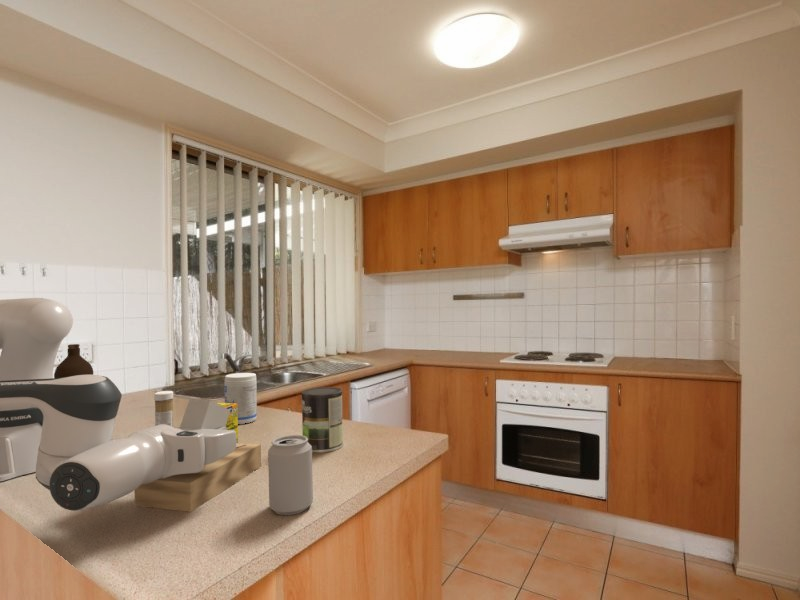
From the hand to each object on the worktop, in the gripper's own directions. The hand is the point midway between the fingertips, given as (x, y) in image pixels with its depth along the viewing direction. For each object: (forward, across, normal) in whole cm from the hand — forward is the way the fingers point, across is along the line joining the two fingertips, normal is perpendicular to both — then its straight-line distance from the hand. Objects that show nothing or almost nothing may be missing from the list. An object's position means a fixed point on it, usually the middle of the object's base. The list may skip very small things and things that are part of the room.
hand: (210, 430), depth 91 cm
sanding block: (-5, 0, -4) cm, 6 cm away
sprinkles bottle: (+21, -31, -10) cm, 39 cm away
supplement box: (+19, -12, -11) cm, 25 cm away
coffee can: (+25, +14, -11) cm, 30 cm away
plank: (-2, 0, -10) cm, 11 cm away
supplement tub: (+44, -23, -10) cm, 50 cm away
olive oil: (+37, -82, -10) cm, 91 cm away
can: (-8, +22, -11) cm, 26 cm away
